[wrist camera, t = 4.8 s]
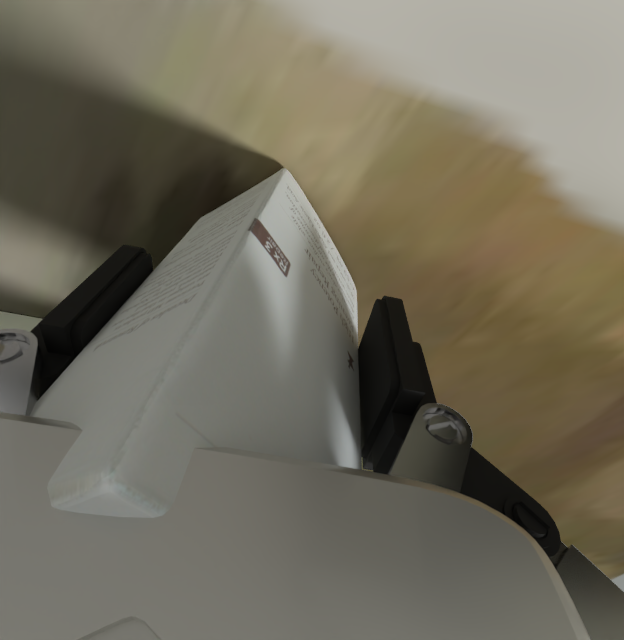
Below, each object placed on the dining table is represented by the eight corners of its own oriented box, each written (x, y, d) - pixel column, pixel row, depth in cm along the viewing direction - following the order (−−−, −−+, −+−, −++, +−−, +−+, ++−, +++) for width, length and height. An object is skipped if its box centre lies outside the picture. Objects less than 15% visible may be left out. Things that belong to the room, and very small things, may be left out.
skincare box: (360, 286, 16) (398, 659, 6) (275, 325, 18) (199, 673, 8) (282, 155, 13) (121, 481, 3) (188, 216, 14) (-115, 561, 5)
